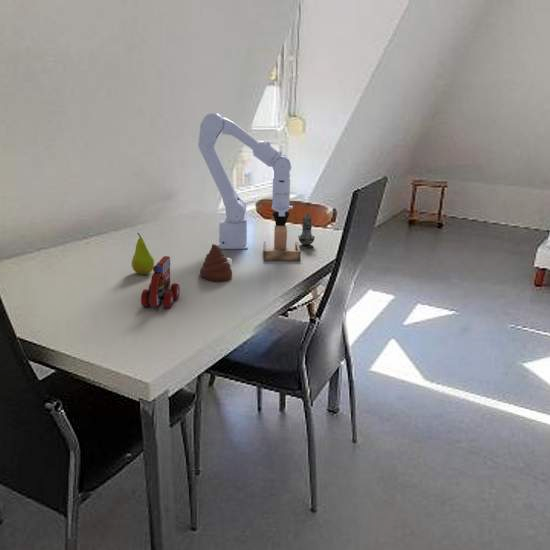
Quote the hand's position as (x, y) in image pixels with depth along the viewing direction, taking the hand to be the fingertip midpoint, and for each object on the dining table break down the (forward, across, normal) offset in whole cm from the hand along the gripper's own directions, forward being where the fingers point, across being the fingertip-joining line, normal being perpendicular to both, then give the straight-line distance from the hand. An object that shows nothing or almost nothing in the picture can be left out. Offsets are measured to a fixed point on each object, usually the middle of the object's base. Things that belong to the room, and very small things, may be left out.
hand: (280, 233), depth 166 cm
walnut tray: (+5, -10, 0) cm, 11 cm away
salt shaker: (+5, 0, -9) cm, 10 cm away
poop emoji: (+5, -32, +19) cm, 38 cm away
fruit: (+5, -29, +40) cm, 50 cm away
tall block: (+4, -2, 0) cm, 5 cm away
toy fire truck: (+5, -51, +31) cm, 60 cm away
